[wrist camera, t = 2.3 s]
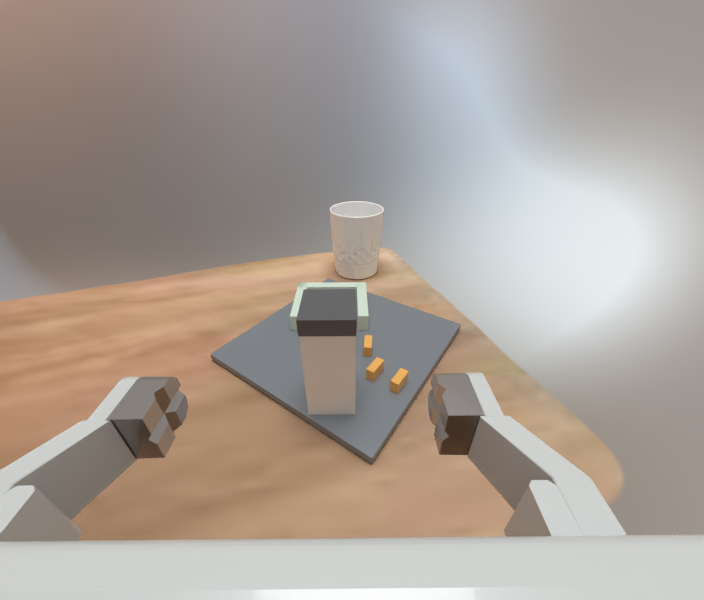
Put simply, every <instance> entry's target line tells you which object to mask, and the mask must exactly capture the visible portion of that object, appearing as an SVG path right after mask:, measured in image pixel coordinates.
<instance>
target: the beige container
mask: <svg viewBox="0 0 704 600" xmlns="http://www.w3.org/2000/svg"><path fill="white" fill-rule="evenodd" d="M296 324H297V332H298V336H299V341H300V349H301V357H302V366H303V374H304V382H305V390H306V398H307V406H308V415H328V414H355V401H356V326H357V319H356V289H304V290H303V294H302V298H301V302H300V306H299V310H298V315H297V319H296Z"/></svg>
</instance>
